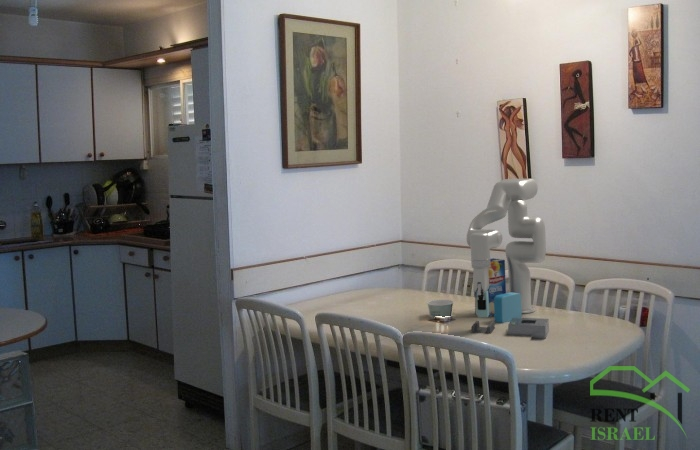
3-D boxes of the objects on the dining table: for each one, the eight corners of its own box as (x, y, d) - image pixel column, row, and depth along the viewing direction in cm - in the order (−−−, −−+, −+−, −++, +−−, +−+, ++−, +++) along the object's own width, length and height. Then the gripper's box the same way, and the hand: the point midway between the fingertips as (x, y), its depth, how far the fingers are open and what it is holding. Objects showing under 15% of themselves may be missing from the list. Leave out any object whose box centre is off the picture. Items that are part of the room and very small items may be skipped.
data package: (513, 318, 314) (512, 291, 313) (521, 320, 310) (521, 292, 309) (494, 324, 307) (493, 295, 306) (502, 325, 303) (501, 297, 302)
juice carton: (486, 317, 320) (484, 263, 318) (475, 314, 326) (473, 261, 324) (506, 312, 326) (504, 259, 324) (495, 310, 333) (493, 258, 330)
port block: (513, 329, 295) (512, 316, 295) (548, 331, 290) (548, 317, 290) (508, 337, 284) (508, 323, 284) (545, 338, 279) (545, 324, 278)
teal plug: (479, 314, 296) (478, 288, 295) (489, 314, 295) (488, 288, 293) (477, 317, 292) (476, 290, 291) (487, 317, 291) (486, 290, 290)
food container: (423, 318, 324) (422, 304, 323) (433, 312, 335) (432, 298, 334) (448, 320, 318) (448, 305, 318) (458, 314, 329) (457, 300, 328)
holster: (475, 329, 300) (475, 320, 299) (495, 329, 297) (495, 321, 296) (471, 335, 290) (470, 326, 290) (491, 335, 288) (490, 327, 287)
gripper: (475, 259, 300) (477, 303, 302) (467, 267, 285) (469, 313, 287) (493, 259, 297) (496, 303, 300) (486, 267, 282) (488, 313, 284)
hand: (483, 307), depth 293 cm, fingers closed on teal plug, 4 cm apart
